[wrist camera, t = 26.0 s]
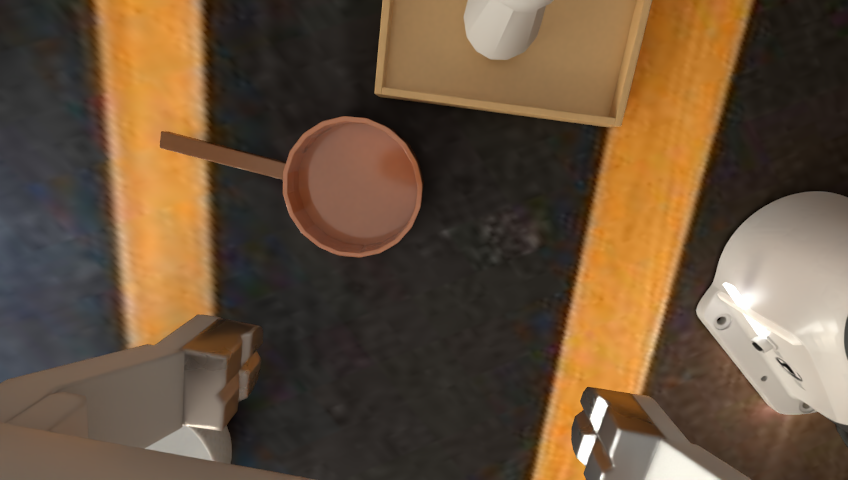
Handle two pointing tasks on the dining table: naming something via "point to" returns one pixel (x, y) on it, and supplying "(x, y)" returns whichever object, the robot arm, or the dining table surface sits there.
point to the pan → (353, 186)
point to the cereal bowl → (197, 444)
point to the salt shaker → (503, 26)
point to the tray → (515, 60)
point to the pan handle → (222, 154)
